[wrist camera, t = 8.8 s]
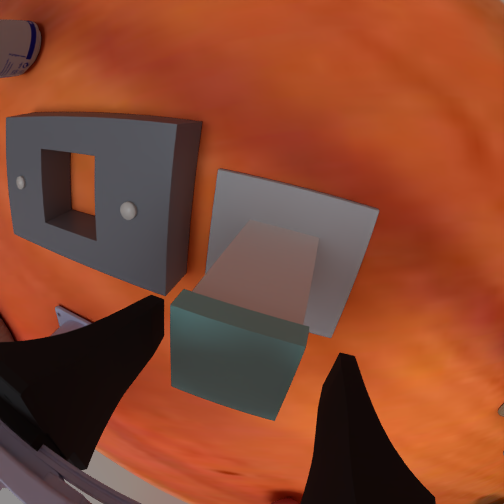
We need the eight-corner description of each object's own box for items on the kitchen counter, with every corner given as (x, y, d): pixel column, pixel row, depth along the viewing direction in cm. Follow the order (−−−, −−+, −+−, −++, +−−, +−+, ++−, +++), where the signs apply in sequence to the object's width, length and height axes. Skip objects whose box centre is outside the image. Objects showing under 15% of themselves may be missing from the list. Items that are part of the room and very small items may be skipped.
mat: (331, 334, 20) (330, 338, 19) (204, 297, 21) (202, 300, 21) (378, 208, 16) (379, 211, 15) (220, 168, 17) (218, 169, 17)
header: (186, 272, 21) (163, 298, 18) (37, 221, 23) (11, 235, 20) (202, 121, 16) (174, 124, 13) (33, 112, 19) (3, 118, 16)
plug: (304, 299, 19) (274, 421, 11) (236, 280, 19) (171, 386, 12) (323, 235, 17) (306, 347, 9) (247, 215, 17) (170, 304, 10)
